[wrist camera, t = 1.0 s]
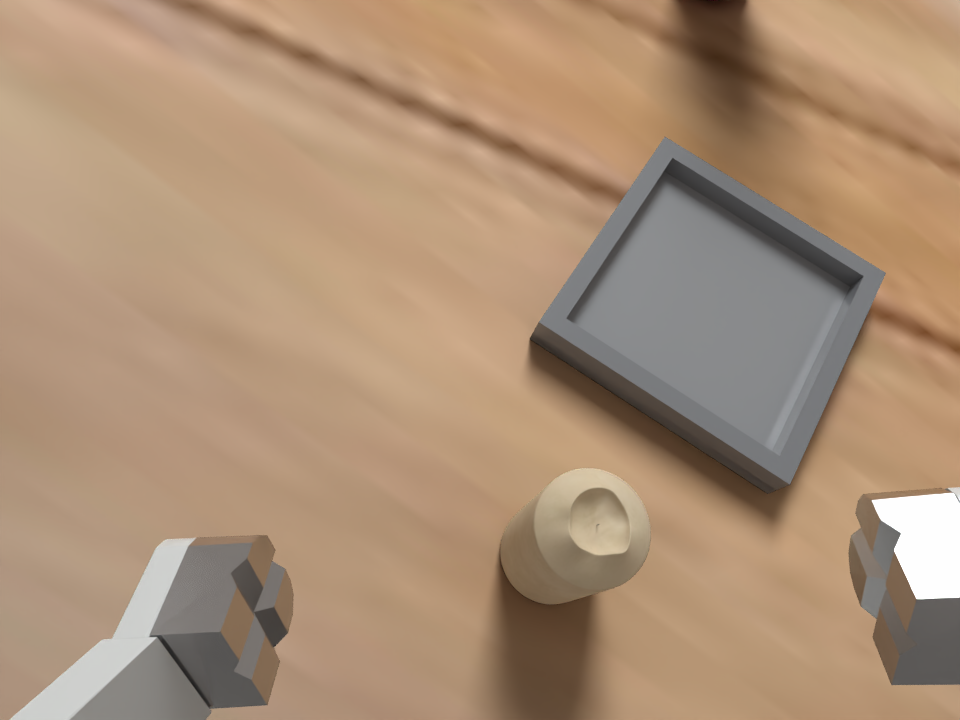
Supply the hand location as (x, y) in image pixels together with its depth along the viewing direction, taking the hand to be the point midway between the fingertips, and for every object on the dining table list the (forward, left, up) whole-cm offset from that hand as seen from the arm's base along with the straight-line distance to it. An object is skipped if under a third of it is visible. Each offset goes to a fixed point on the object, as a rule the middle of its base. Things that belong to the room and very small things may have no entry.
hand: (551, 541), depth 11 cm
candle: (+4, +8, -32) cm, 33 cm away
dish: (+5, +27, -32) cm, 42 cm away
